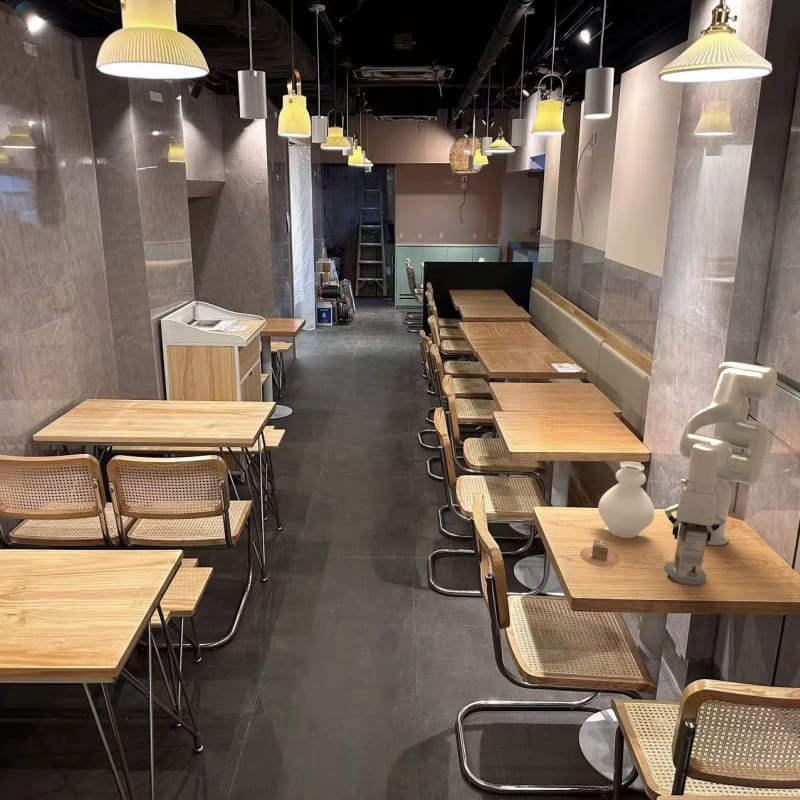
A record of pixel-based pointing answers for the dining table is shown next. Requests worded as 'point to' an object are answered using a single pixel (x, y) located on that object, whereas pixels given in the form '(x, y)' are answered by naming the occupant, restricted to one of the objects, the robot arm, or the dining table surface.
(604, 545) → the letter cube
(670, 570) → the charcoal dish
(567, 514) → the dining table surface
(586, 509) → the dining table surface
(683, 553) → the coffee box
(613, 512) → the decorative vase
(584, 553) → the terracotta dish
